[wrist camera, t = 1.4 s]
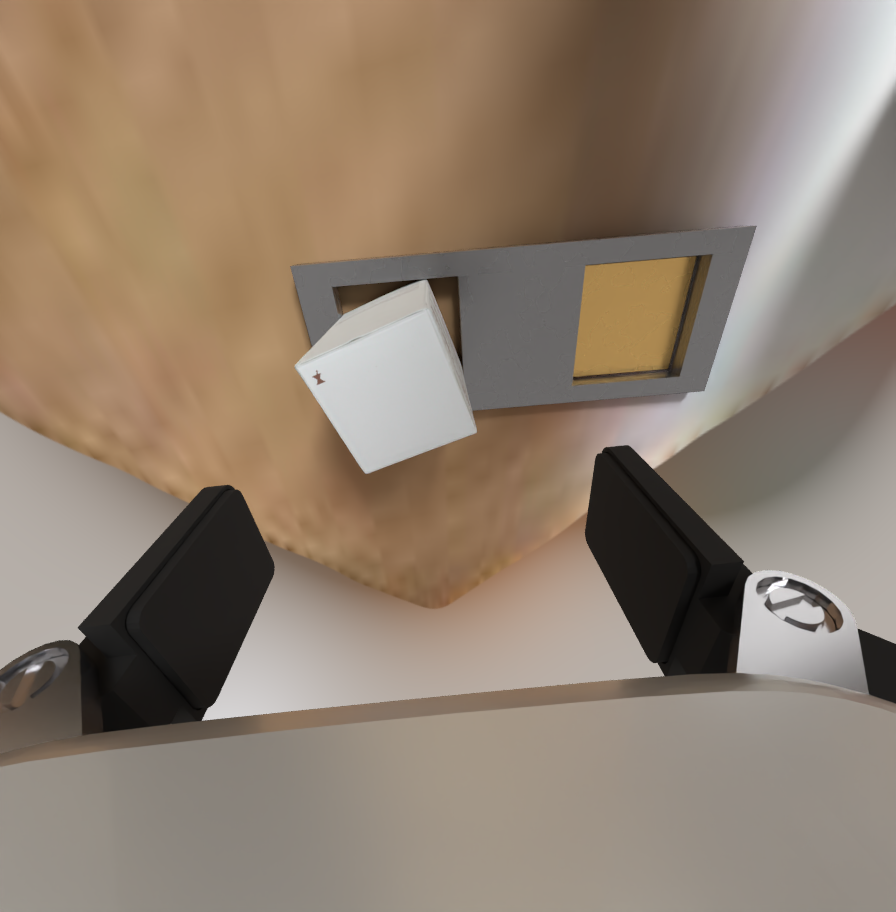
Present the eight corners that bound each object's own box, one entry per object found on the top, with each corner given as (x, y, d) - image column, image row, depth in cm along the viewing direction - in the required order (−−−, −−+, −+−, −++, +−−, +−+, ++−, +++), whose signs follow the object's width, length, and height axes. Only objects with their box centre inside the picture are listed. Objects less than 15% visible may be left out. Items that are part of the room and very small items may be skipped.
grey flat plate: (297, 264, 26) (290, 266, 25) (739, 226, 26) (756, 225, 25) (336, 414, 33) (332, 422, 31) (692, 384, 33) (704, 390, 31)
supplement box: (384, 395, 32) (361, 479, 21) (341, 312, 28) (286, 363, 18) (463, 364, 31) (480, 436, 20) (429, 273, 27) (428, 303, 16)
